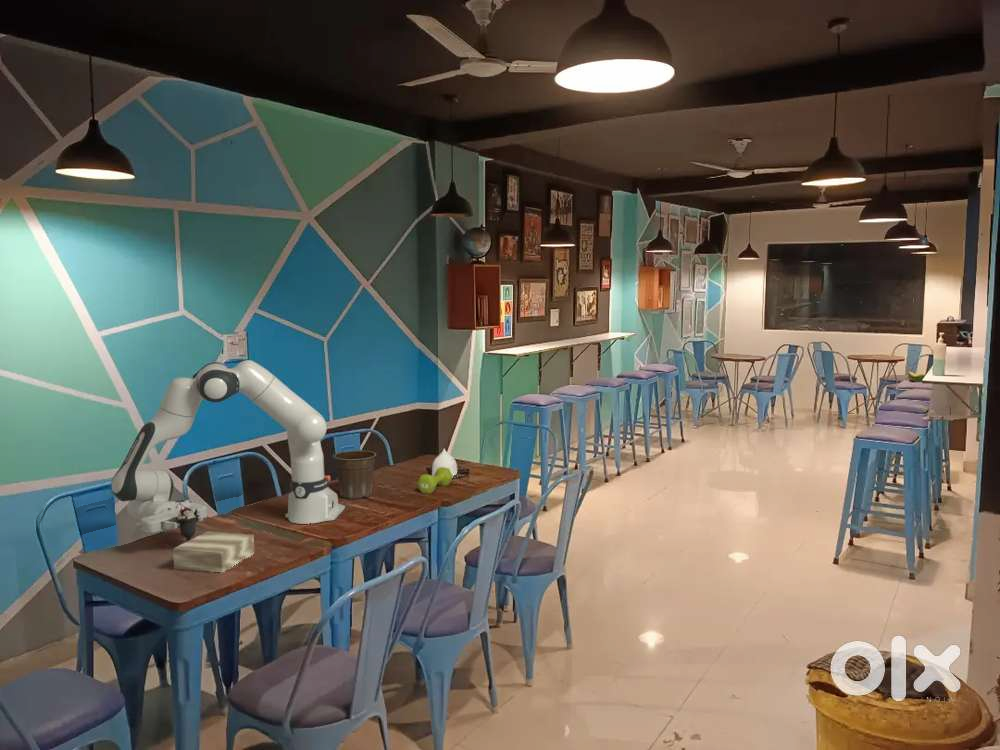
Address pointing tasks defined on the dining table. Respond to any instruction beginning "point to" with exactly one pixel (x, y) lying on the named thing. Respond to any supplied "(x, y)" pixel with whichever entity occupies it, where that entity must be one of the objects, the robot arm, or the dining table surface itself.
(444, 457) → the teardrop
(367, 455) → the plant pot
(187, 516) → the sundae
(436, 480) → the dumbbell
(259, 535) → the dining table surface
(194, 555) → the cream block
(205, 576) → the dining table surface
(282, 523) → the dining table surface
